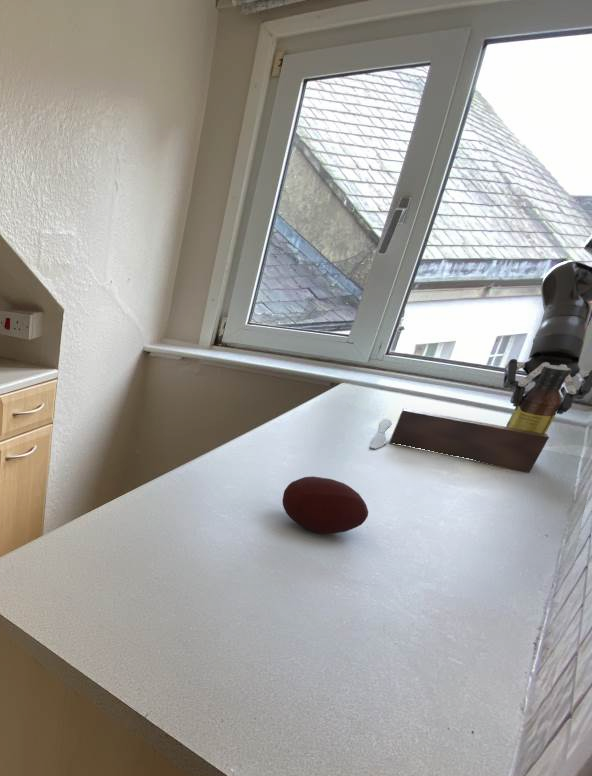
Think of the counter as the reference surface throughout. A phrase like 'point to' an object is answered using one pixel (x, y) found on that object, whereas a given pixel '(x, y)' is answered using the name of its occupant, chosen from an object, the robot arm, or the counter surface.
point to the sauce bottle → (540, 401)
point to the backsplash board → (469, 439)
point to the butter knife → (381, 434)
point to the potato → (324, 505)
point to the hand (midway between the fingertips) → (538, 408)
